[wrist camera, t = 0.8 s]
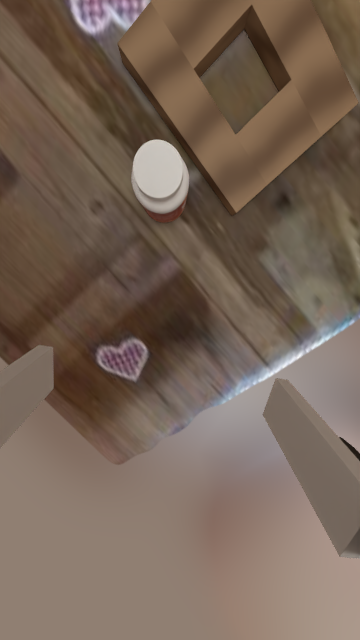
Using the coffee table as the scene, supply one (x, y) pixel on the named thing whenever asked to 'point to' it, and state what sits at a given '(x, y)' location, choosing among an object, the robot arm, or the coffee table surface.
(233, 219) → the coffee table surface
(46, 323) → the coffee table surface
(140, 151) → the pill bottle
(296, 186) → the coffee table surface
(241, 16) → the square wooden frame
